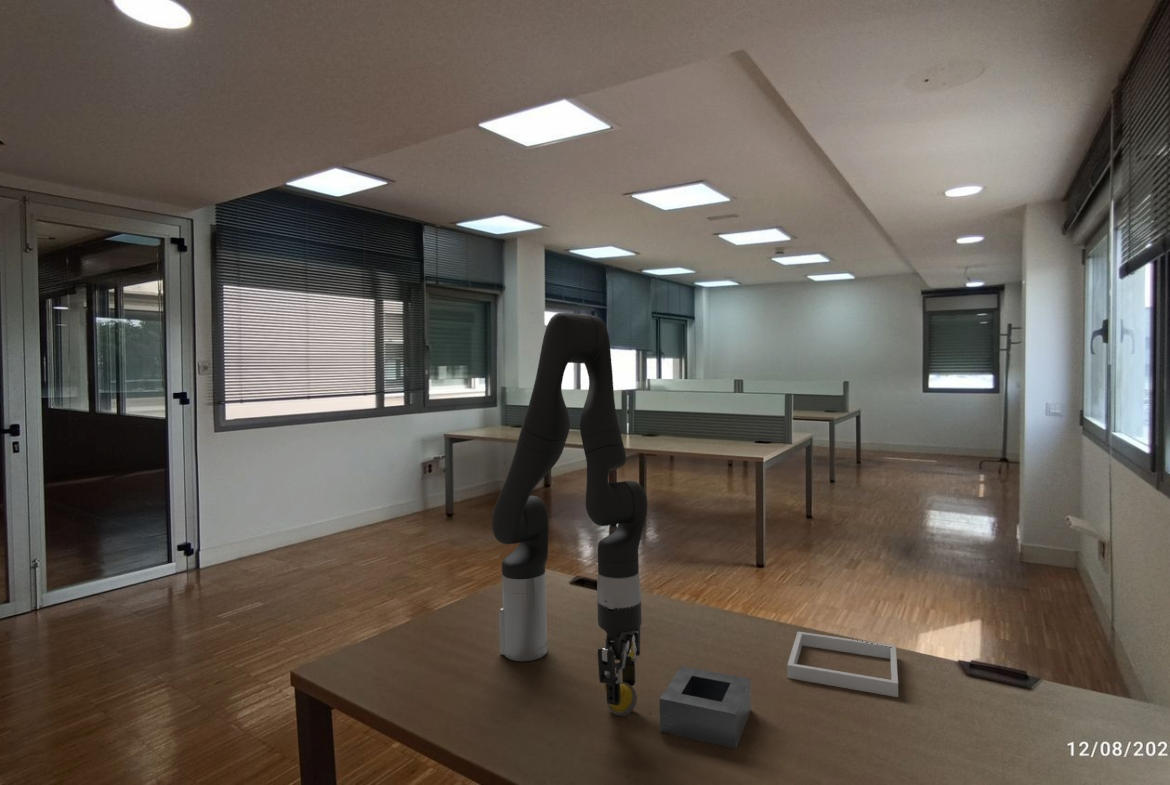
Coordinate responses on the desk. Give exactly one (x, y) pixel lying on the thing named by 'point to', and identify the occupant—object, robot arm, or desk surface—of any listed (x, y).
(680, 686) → the bit holder
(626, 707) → the drill bit
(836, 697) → the desk surface
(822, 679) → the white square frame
